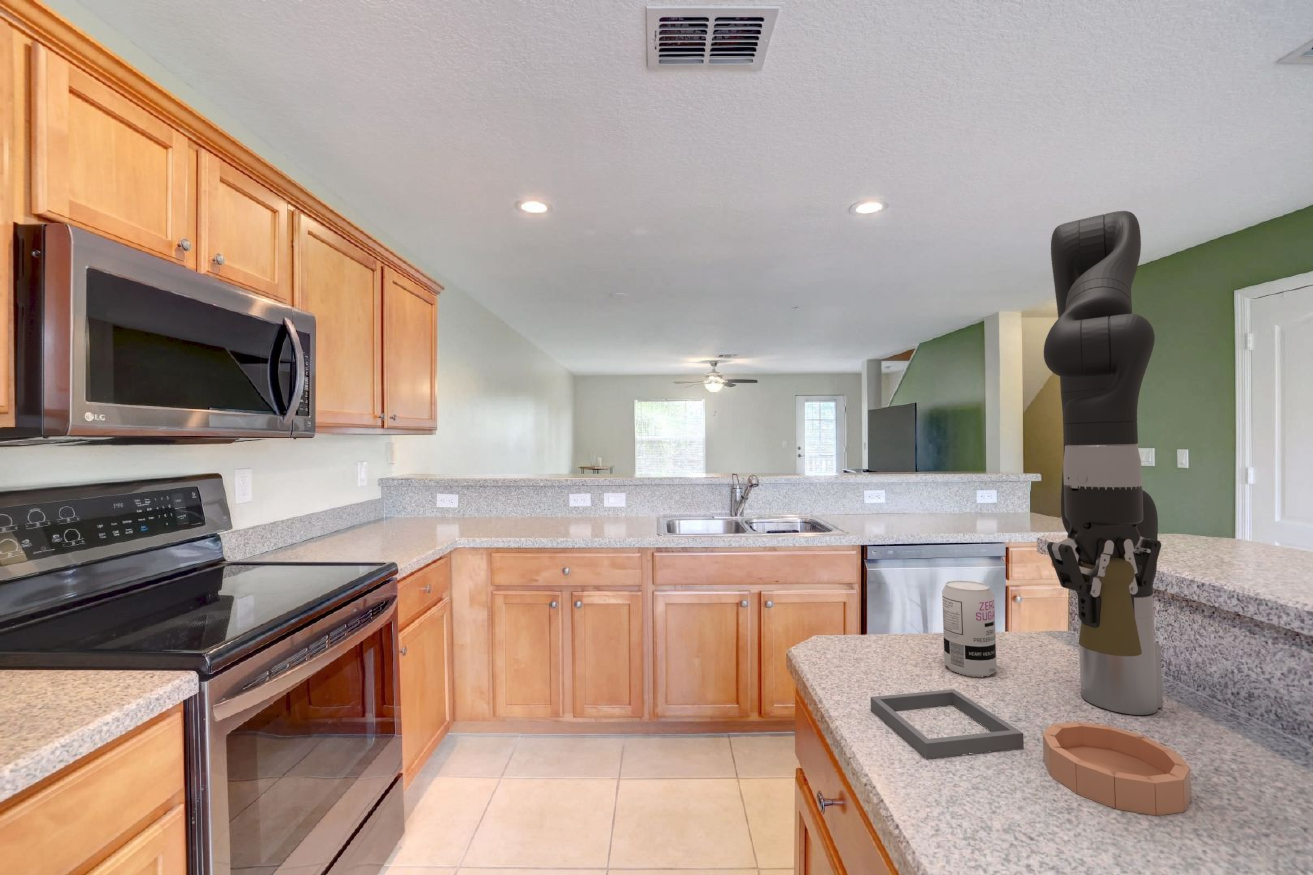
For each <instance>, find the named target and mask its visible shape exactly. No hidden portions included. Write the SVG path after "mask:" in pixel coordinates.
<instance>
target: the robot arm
mask: <svg viewBox="0 0 1313 875" xmlns="http://www.w3.org/2000/svg"><path fill="white" fill-rule="evenodd" d="M1141 248H1142V236H1141V227H1140V223H1139V220H1138V218H1137V216H1136V215H1135V214H1134V213H1133V212H1131V211H1128V210H1120V211H1112V212H1108V213H1105V214H1099V215H1094V216H1089V217H1085V218H1080V219H1077V220H1072V221H1068V222H1066V223H1062V224H1059V225H1058V226H1056V227H1055V228H1054V229H1053V231H1052V235H1051V238H1050V260H1051V268H1052V274H1053V275H1052V276H1053V285H1054V292H1055V293H1054V294H1055V300H1056V302H1055V303H1056V309H1057V310H1056V311H1057V319H1056V321H1055V322H1054V323H1053V325H1052V326H1051V327H1050V328H1049V331H1048V333H1047V336H1046V338H1045V341H1044V345H1043V360H1044V362H1045V365H1046V366H1047V368H1048V369H1049V371H1050V372H1052V373H1053V374H1054V375H1056V376H1059V382H1060V383H1059V385H1060V400H1061V401H1060V402H1061V408H1062V409H1061V410H1062V430H1063V432H1062V433H1063V434H1062V435H1063V436H1062V437H1063V439H1062V440H1063V441H1062V442H1063V443H1062V444H1063V454H1062V455H1063V458H1062V460H1063V462H1062V473H1061V474H1062V476H1061V488H1060V489H1061V492H1060V514H1061V515H1060V517H1061V520H1062V521H1061V522H1062V524H1063V528H1064V530H1065V531H1066V533H1067V538H1065V539H1063V540H1061V541H1058V542H1054V541H1050V542H1048V543H1047V545H1046V549H1047V551H1048V554H1049V558H1050V560H1051V562H1052V565H1053V568H1054V571H1055V574H1056V575H1057V579H1058V581H1059V583H1060V586H1061V587H1062V588H1063V589H1067V590H1070V591H1073V592H1075V593H1076V595H1077V596H1076V598H1077V601H1076V602H1077V603H1076V604H1077V623H1078V624H1077V626H1078V637H1079V636H1080V628H1081V622H1082V623H1083V624H1084V625H1087V626H1090V627H1093V628H1097V627H1099V625H1100V613H1101V597H1097V596H1099V594H1100V589H1101V581H1100V578H1103V577H1105V571H1106V567H1107V565H1108V564H1109V560H1110V559H1111V558H1121V559H1124V560H1126V561H1129V562H1130V563H1131V564H1132V565H1133V568H1134V571H1135V577H1134V580H1133V582H1132V583H1131V584H1130V585H1129V589H1130V594H1131V599H1132V604H1133V609H1134V615H1135V620H1136V625H1137V630H1138V635H1139V640H1140V645H1141V650H1142V654H1140V655H1138V656H1114V655H1108V654H1103V653H1099V652H1095V651H1092V650H1089V649H1086V648H1084V647H1082V646H1081V645H1080V644H1079V643H1078V651H1079V658H1078V659H1079V680H1080V683H1079V684H1080V697H1082V699H1084V700H1085V701H1087V702H1088V703H1090V704H1092V705H1094V706H1097V707H1099V708H1102V709H1105V710H1108V711H1112V712H1114V713H1115V712H1116V713H1120V714H1125V715H1127V714H1128V715H1133V716H1134V715H1135V716H1136V715H1137V716H1145V715H1152V714H1155V713H1156V712H1158V709H1160V708H1163V707H1164V704H1163V703H1164V702H1163V701H1164V700H1163V680H1162V679H1163V678H1162V677H1163V675H1162V674H1163V673H1162V650H1161V649H1162V647H1161V645H1160V643H1159V642H1157V641H1156V638H1155V615H1154V614H1155V613H1154V581H1155V578H1156V576H1157V568H1158V559H1159V555H1160V553H1161V548H1162V542H1161V541H1160V540H1158V534H1159V533H1158V532H1159V522H1158V521H1159V520H1158V510H1157V506H1156V504H1155V501H1154V499H1153V498H1152V497H1151V495H1150V493H1148V492H1147V491H1146V490H1143V475H1142V474H1143V470H1142V469H1143V468H1142V460H1141V455H1140V451H1139V450H1140V449H1139V436H1138V435H1139V433H1138V432H1139V431H1138V406H1139V398H1140V397H1139V396H1140V392H1141V387H1142V383H1143V380H1144V376H1145V374H1146V371H1147V368H1148V365H1149V362H1150V361H1151V360H1150V358H1151V357H1152V353H1153V350H1154V345H1155V339H1156V338H1155V330H1154V328H1153V326H1152V324H1151V323H1150V321H1149V320H1148V319H1147V318H1146V317H1144V316H1142V315H1140V314H1137V313H1133V306H1132V302H1133V301H1132V285H1133V282H1134V280H1135V276H1136V274H1137V271H1138V270H1137V269H1138V266H1139V262H1140V257H1141V253H1142V252H1141V250H1142V249H1141ZM1082 562H1084V563H1085V564H1090V565H1095V568H1094V569H1088V568H1084V567H1082ZM1084 574H1087V575H1089V576H1090V580H1089V584H1086V582H1087V581H1086V579H1085V578H1084Z"/></svg>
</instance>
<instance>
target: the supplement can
mask: <svg viewBox="0 0 1313 875" xmlns="http://www.w3.org/2000/svg"><path fill="white" fill-rule="evenodd" d="M990 587H991V586H990V585H988V584H985V583H982V582H977V581H971V580H950V581H947V582H945V585H944V587H943V589H942V591H941V592H942V593H941V595H942V596H941V597H942V598H941V599H942V601H941V602H942V626H943V630H942V631H943V654H944V655H943V656H944V657H943V658H944V659H943V660H944V665H945V666H946V667H947V668H948V669H949V670H950V671H951V670H952V672H953V671H954V673H955V672H957V673H956V674H958V673H959V674H958V675H961V674H962V676H965V675H966V677H970V676H977V677H976V678H983V677H982V676H987V677H991V676H992V675H993V674H994V673H995V672H996V671H997V668H998V667H997V643H996V641H997V640H996V638H997V637H996V611H995V609H996V606H995V595H994V593H993V592H992V590H991V588H990ZM992 673H993V674H992ZM991 674H992V675H991ZM990 675H991V676H990ZM978 676H979V677H978Z"/></svg>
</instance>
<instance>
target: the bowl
mask: <svg viewBox="0 0 1313 875" xmlns="http://www.w3.org/2000/svg"><path fill="white" fill-rule="evenodd" d="M1042 754H1043V755H1042V758H1043V763H1044V765H1045V767H1046V769H1047V771H1048V772H1049V775H1050V777H1052V778H1053V779H1055V780H1056V781H1057V782H1059V783H1060V784H1062V785H1063V786H1064V787H1066V788H1067V789H1069V790H1071V791H1072V792H1073V793H1075V794H1077V795H1079V796H1081V797H1083V798H1087V799H1089V800H1091V801H1094V802H1097V803H1100V804H1102V805H1104V806H1107V807H1110V808H1112V809H1116V810H1120V811H1126V812H1127V811H1128V812H1131V813H1132V812H1133V813H1139V814H1145V815H1148V816H1155V817H1156V816H1165V815H1173V814H1178V813H1180V814H1181V813H1185V812H1186V810H1187V808H1188V806H1189V805H1190V802H1191V800H1192V782H1191V781H1192V780H1191V778H1192V777H1191V767H1190V765H1189V764H1188V763H1187V762H1186V761H1185V760H1184V759H1183V757H1181V756H1180V755H1179V754H1178V753H1177V751H1175V750H1173V749H1172V748H1170V747H1168V746H1166V745H1163V744H1162V743H1160V742H1157V741H1156V740H1154V739H1152V738H1150V737H1148V736H1145V735H1144V734H1140V733H1139V734H1138V733H1136V732H1133V731H1132V732H1131V731H1130V730H1126V729H1122V728H1118V727H1116V726H1113V725H1112V726H1111V725H1107V724H1099V723H1091V722H1084V721H1069V722H1060V723H1059V722H1058V723H1052V724H1051V725H1050V726H1049V727H1048V728H1046V729H1045V730H1044V731H1043V732H1042Z"/></svg>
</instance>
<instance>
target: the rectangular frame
mask: <svg viewBox="0 0 1313 875" xmlns="http://www.w3.org/2000/svg"><path fill="white" fill-rule="evenodd" d="M948 705H951V706H953V705H954V706H956V707H957V708H959V709H960V710H962V711H963V712H964V713H963V712H962V711H961V712H962V713H963V714H965V713H966V714H967V715H966V714H965V715H966V716H968V715H969V716H970V717H969V716H968V717H969V718H971V719H972V718H973V719H972V720H974V719H975V720H976V721H975V720H974V721H975V722H977V723H978V722H979V723H981V724H982V725H983V726H982V725H981V724H980V725H981V726H982V727H984V728H985V727H986V728H985V729H987V728H988V729H989V730H988V729H987V730H988V732H981V733H971V734H962V735H960V734H959V735H953V736H944V737H934V738H928V737H927V736H926V735H924V734H923V733H922V732H921V731H920V730H918V729H917V728H916V727H914V725H913V724H911V723H909V722H908V720H906V719H905V718H904V717H902V716H901V715H900V714H899V713H898V712H899V711H907V710H918V709H929V708H938V706H941V707H949V706H948ZM954 706H953V707H954ZM956 707H955V708H956ZM957 708H956V709H957ZM959 709H958V710H959ZM960 710H959V711H960ZM870 711H871V712H872V713H873V714H875V715H876V716H877V717H878V718H879V719H880V720H882V721H883V723H885V724H886V725H888V727H889V728H890V729H891V730H893V731H894V732H895V733H896V734H897V735H898V736H900V737H901V738H902V739H903V740H905V741H904V742H907V744H909V745H910V746H911V747H912V749H915V750H916V751H917V752H918V753H919V754H920V755H921V756H923V757H924V759H926V760H930V759H940V758H948V757H959V756H964V755H963V754H968V755H970V754H969V753H977V754H984V753H983V752H986V753H990V752H989V751H995V752H1000V751H999V750H1003V751H1008V750H1007V749H1012V750H1018V749H1020V748H1021V749H1024V748H1025V747H1024V745H1025V744H1024V732H1022V731H1021V730H1019V729H1017V728H1016V727H1015V726H1013V725H1011V724H1010V723H1008V722H1007V721H1005V720H1004V719H1002V718H1000V717H999V716H997V715H996V714H994V713H992V712H991V711H989V710H988V709H986V708H985V707H983V706H982V705H979V704H978V703H977V702H975V701H974V700H972V699H970V698H969V697H967V696H966V695H964V694H963V693H960V691H958V690H956V689H954V688H951V689H942V690H941V689H940V690H932V691H931V690H930V691H921V692H918V691H917V692H910V693H900V694H899V693H898V694H888V695H877V696H870ZM979 723H978V724H979ZM981 752H982V753H981ZM958 755H959V756H958Z"/></svg>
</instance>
